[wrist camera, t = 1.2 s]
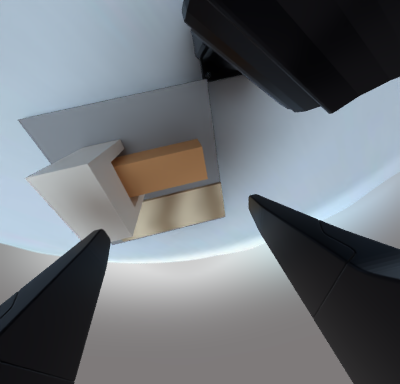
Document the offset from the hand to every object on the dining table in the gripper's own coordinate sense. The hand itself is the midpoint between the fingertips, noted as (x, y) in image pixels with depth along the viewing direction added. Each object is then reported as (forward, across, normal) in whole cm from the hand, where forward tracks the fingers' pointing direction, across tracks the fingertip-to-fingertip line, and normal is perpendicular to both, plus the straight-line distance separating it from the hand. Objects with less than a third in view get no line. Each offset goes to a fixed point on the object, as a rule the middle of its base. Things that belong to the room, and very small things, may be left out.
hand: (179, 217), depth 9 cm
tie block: (+11, +7, 0) cm, 13 cm away
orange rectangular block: (+11, +3, 0) cm, 11 cm away
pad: (+11, +3, +8) cm, 14 cm away
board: (+12, +4, +2) cm, 13 cm away
